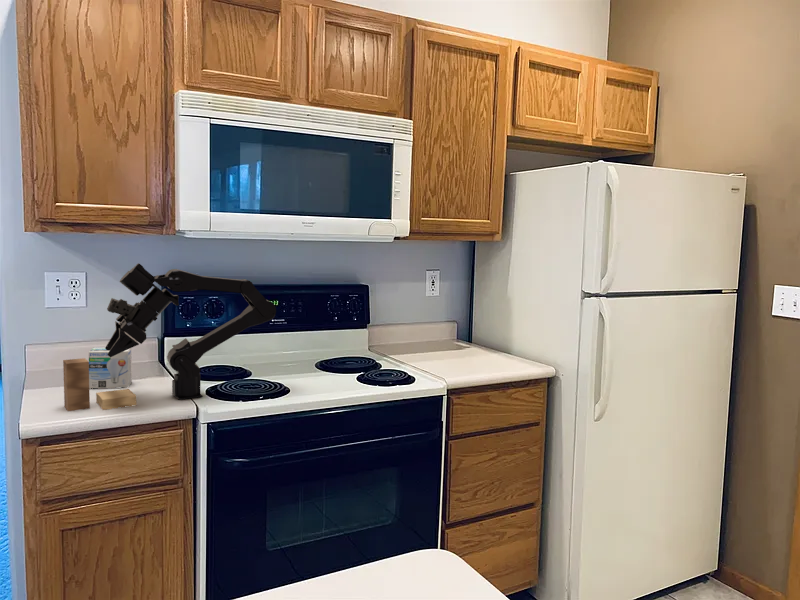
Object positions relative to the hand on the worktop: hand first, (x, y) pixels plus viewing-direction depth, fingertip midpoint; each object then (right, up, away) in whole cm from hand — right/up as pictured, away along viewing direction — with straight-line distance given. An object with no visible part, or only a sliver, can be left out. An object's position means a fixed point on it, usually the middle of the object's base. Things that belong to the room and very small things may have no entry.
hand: (107, 352), depth 166 cm
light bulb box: (-8, -11, +19) cm, 24 cm away
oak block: (+2, -14, +1) cm, 14 cm away
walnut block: (-6, -14, -3) cm, 15 cm away
